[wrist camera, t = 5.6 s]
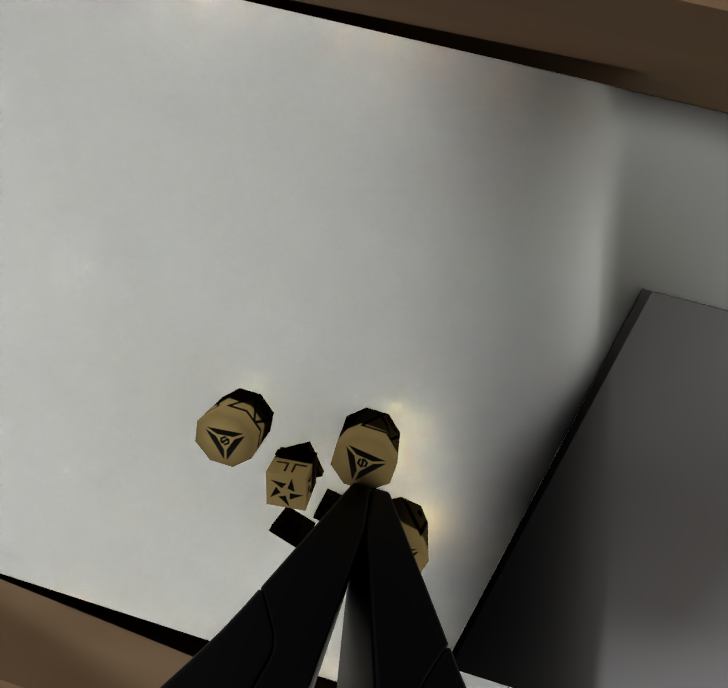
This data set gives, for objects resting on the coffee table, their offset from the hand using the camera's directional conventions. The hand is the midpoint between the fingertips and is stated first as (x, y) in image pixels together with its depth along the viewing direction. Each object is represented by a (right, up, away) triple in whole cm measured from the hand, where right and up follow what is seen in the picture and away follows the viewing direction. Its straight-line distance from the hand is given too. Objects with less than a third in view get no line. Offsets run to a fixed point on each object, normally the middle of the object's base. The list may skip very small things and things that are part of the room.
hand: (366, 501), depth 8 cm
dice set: (-1, +1, +2) cm, 2 cm away
